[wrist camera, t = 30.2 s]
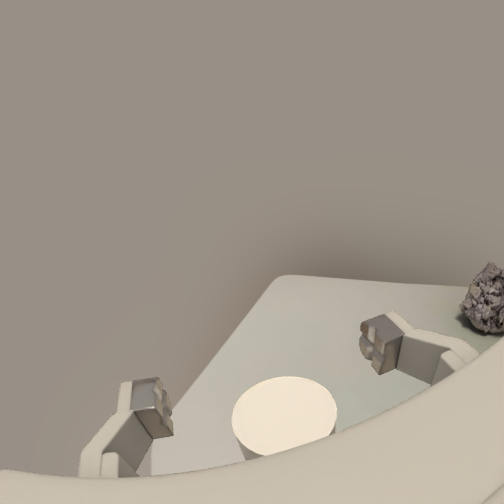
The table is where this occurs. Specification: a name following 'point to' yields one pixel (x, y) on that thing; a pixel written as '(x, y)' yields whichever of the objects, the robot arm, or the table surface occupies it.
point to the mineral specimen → (486, 300)
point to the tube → (282, 416)
